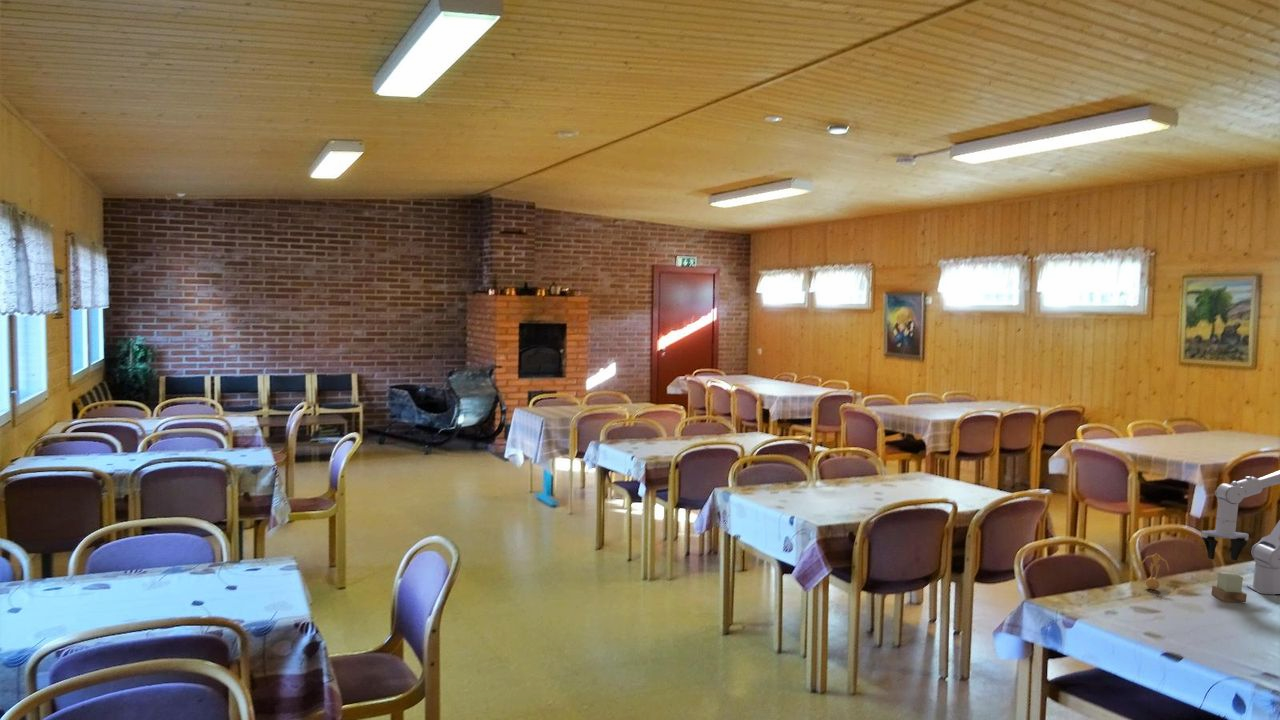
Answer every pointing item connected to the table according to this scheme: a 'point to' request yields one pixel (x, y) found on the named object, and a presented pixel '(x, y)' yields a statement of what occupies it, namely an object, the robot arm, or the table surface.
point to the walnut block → (1228, 595)
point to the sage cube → (1229, 582)
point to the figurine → (1152, 582)
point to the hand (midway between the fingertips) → (1222, 559)
